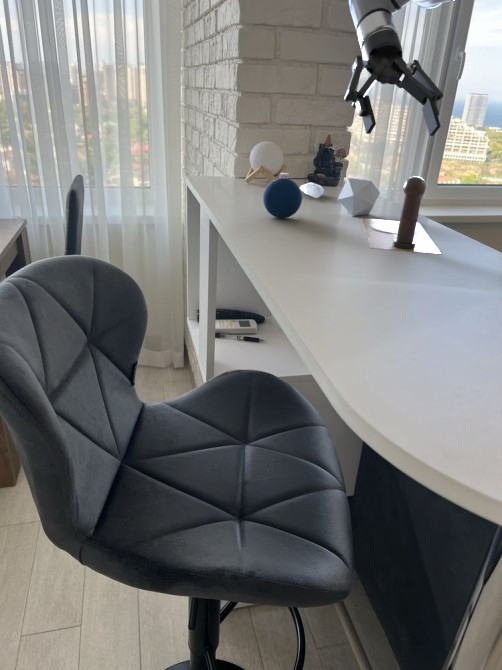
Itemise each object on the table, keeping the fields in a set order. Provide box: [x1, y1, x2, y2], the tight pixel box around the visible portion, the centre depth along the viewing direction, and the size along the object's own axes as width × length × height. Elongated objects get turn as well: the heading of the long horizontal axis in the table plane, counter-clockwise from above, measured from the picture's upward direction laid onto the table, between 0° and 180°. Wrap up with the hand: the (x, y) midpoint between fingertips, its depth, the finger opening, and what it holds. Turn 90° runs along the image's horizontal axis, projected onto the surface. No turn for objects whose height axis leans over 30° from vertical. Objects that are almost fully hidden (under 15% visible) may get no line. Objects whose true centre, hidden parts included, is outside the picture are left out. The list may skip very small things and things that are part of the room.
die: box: [336, 176, 381, 217], centre depth 116 cm, size 8×9×10 cm
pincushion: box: [299, 173, 325, 199], centre depth 134 cm, size 12×6×6 cm, turn 6°
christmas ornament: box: [262, 172, 303, 219], centre depth 109 cm, size 8×8×10 cm
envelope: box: [360, 217, 443, 255], centre depth 101 cm, size 13×24×1 cm, turn 173°
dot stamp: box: [393, 175, 427, 249], centre depth 91 cm, size 4×4×12 cm
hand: (403, 130), depth 96 cm, fingers open, 13 cm apart
